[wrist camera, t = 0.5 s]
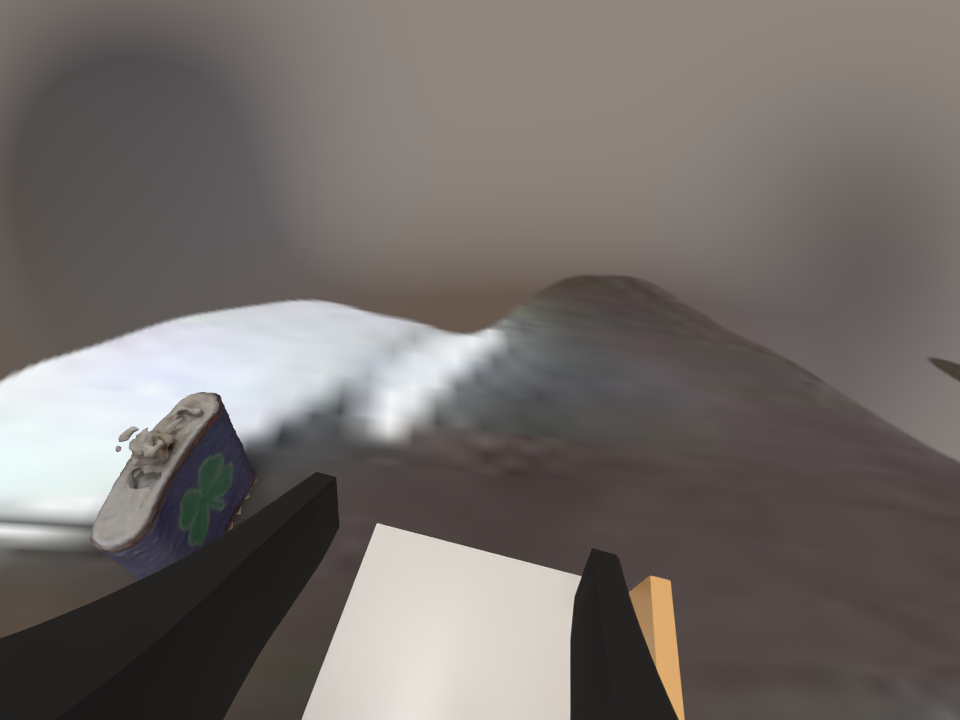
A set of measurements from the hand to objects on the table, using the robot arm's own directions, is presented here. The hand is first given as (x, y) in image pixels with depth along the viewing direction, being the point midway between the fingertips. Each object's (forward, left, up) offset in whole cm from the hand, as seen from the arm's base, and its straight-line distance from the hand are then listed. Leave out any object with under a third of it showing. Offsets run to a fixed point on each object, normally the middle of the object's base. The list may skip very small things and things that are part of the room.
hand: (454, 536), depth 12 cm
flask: (+4, +16, -18) cm, 24 cm away
